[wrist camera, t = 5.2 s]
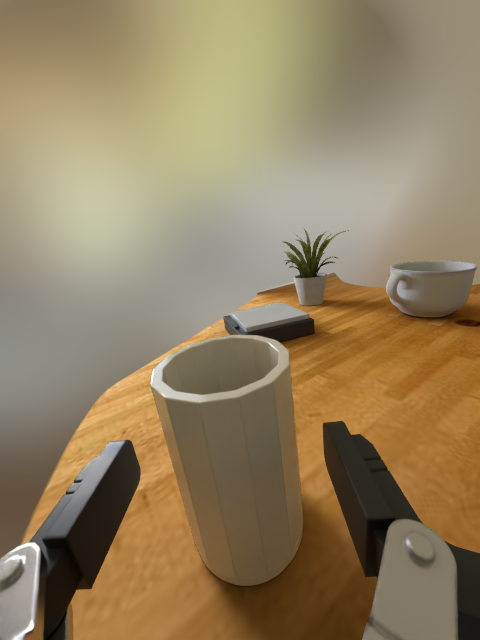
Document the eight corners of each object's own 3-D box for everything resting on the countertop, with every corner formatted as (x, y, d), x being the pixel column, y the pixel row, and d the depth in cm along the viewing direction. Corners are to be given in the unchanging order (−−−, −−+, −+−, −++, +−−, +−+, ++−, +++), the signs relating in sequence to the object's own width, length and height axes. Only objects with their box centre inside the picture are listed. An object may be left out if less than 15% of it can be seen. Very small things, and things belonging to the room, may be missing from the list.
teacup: (424, 300, 47) (428, 257, 44) (490, 314, 36) (499, 259, 34) (358, 313, 45) (358, 269, 42) (408, 332, 35) (412, 275, 32)
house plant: (342, 292, 62) (341, 223, 57) (357, 306, 49) (358, 219, 44) (285, 297, 65) (279, 232, 60) (285, 312, 52) (278, 231, 47)
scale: (242, 351, 36) (239, 331, 35) (225, 328, 47) (222, 312, 46) (314, 333, 39) (313, 314, 38) (282, 316, 50) (281, 300, 49)
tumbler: (201, 615, 11) (144, 424, 8) (190, 485, 16) (155, 350, 14) (327, 555, 12) (319, 373, 9) (275, 455, 18) (260, 326, 15)
